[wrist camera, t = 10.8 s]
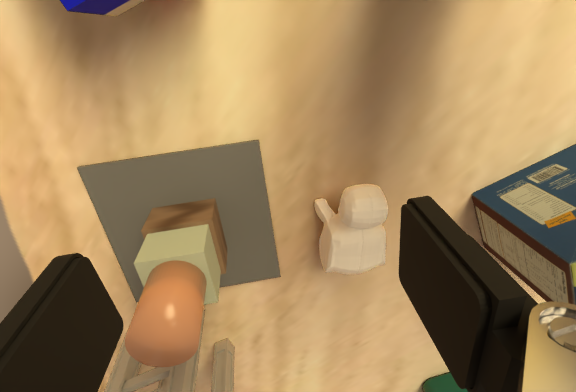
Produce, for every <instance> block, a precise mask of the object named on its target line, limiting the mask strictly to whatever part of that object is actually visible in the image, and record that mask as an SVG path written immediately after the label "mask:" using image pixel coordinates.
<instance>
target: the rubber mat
mask: <svg viewBox="0 0 576 392" xmlns="http://www.w3.org/2000/svg"><path fill="white" fill-rule="evenodd" d="M77 169H78V171H79V173H80V176H81V178H82V180H83V182H84V185H85V187H86V189H87V191H88V194H89V196H90V198H91V200H92V203H93V205H94V207H95V210H96V212H97V214H98V216H99V219H100V221H101V223H102V225H103V228H104V230H105V232H106V234H107V237H108V239H109V241H110V243H111V246H112V248H113V250H114V252H115V255H116V257H117V259H118V261H119V264H120V266H121V268H122V270H123V273H124V275H125V277H126V280H127V282H128V284H129V286H130V289H131V291H132V293H133V295H134V298H135V300H136V302H139V300H140V297H141V294H142V292H143V289H144V287H143V285H142V282H141V280H140V277H139V275H138V273H137V270H136V268H135V266H134V262H135V260H136V257H137V255H138V253H139V251H140V249H141V246H142V244H143V242H144V237H143V235H142V232H141V230H142V228H143V226H144V224H145V222H146V220H147V218H148V216H149V214H150V212H151V210H152V208H156V207H162V206H169V205H175V204H181V203H188V202H194V201H200V200H206V199H213V198H215V199H216V203H217V207H218V212H219V216H220V220H221V224H222V228H223V232H224V236H225V240H226V244H227V248H228V249H227V265H226V274H220V286H219V288H220V287H225V286H231V285H237V284H242V283H248V282H254V281H259V280H265V279H271V278H277V277H281V276H280V270H279V264H278V258H277V252H276V245H275V239H274V233H273V227H272V220H271V214H270V208H269V202H268V196H267V189H266V183H265V177H264V171H263V164H262V158H261V152H260V146H259V140H253V141H246V142H239V143H233V144H226V145H219V146H213V147H206V148H199V149H193V150H186V151H179V152H172V153H166V154H159V155H152V156H146V157H139V158H132V159H126V160H119V161H112V162H105V163H99V164H92V165H85V166H79V167H77Z"/></svg>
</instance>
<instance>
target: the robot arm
mask: <svg viewBox="0 0 576 392" xmlns="http://www.w3.org/2000/svg"><path fill="white" fill-rule="evenodd" d="M399 278H400V282H401V284H402V286H403V288H404V290H405V292H406V293H407V295H408V297H409V299H410V301H411V302H412V304H413V306H414V308H415V310H416V311H417V313H418V315H419V317H420V319H421V320H422V322H423V324H424V326H425V328H426V329H427V331H428V333H429V335H430V337H431V339H432V340H433V342H434V344H435V346H436V348H437V349H438V351H439V353H440V355H441V357H442V358H443V360H444V362H445V364H446V366H447V367H448V369H449V371H450V373H451V375H452V377H453V378H454V380H455V382H456V384H457V385H458V386H459V387H460V388H461V389H467V391H468V392H576V305H574V304H569V303H564V302H544V303H540V304H538V303H537V302H536V301H535V300H534V299H533V298H532V297H531V296H530V295H529V294H528V293H527V292H526V291H525V290H524V289H523V288H522V287H521V286H520V285H519V284H518V283H517V282H516V281H515V280H514V279H513V278H512V277H511V276H510V275H509V274H508V273H507V272H506V271H505V270H504V269H503V268H502V267H501V266H500V265H499V264H498V263H497V262H496V261H495V260H494V259H493V258H492V257H491V256H490V255H489V254H488V253H487V252H486V251H485V250H484V249H483V248H482V247H481V246H480V245H479V244H478V243H477V242H476V241H475V240H474V239H473V238H472V237H471V236H469V235H467V234H466V233H465V232H464V231H463V230H462V229H461V228H460V227H459V226H458V225H457V224H456V223H455V222H454V221H453V220H452V218H451V217H450V216H449V215H448V214H447V213H446V212H445V211H444V210H443V209H442V208H441V207H440V206H439V205H438V204H437V203H436V202H435V201H434V200H433V199H432V198H431V197H429V196H423V197H417V198H411V199H408V201H407V204H404V205H402V208H401V229H400V254H399ZM122 331H123V320H122V318H121V316H120V314H119V312H118V310H117V309H116V307H115V305H114V303H113V301H112V300H111V298H110V296H109V294H108V292H107V290H106V289H105V287H104V285H103V283H102V281H101V279H100V278H99V276H98V274H97V272H96V270H95V269H94V267H93V265H92V263H91V261H90V260H89V258H87V257H83V255H81V254H79V253H75V254H68V255H62V256H57V257H55V258H54V259H53V260H52V261H51V262H50V264H49V265H48V266H47V267H46V268H45V270H44V271H43V272H42V273H41V275H40V276H39V277H38V278H37V279H36V281H35V282H34V283H33V284H32V285H31V287H30V288H29V289H28V290H27V292H26V293H25V294H24V295H23V297H22V298H21V299H20V300H19V301H18V303H17V304H16V305H15V306H14V308H13V309H12V310H11V311H10V312H9V313H8V315H7V316H6V317H5V318H4V320H3V321H2V322H1V323H0V392H98V389H99V387H100V384H101V382H102V380H103V377H104V375H105V372H106V370H107V368H108V365H109V363H110V360H111V358H112V355H113V353H114V351H115V348H116V346H117V343H118V341H119V339H120V336H121V334H122Z"/></svg>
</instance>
